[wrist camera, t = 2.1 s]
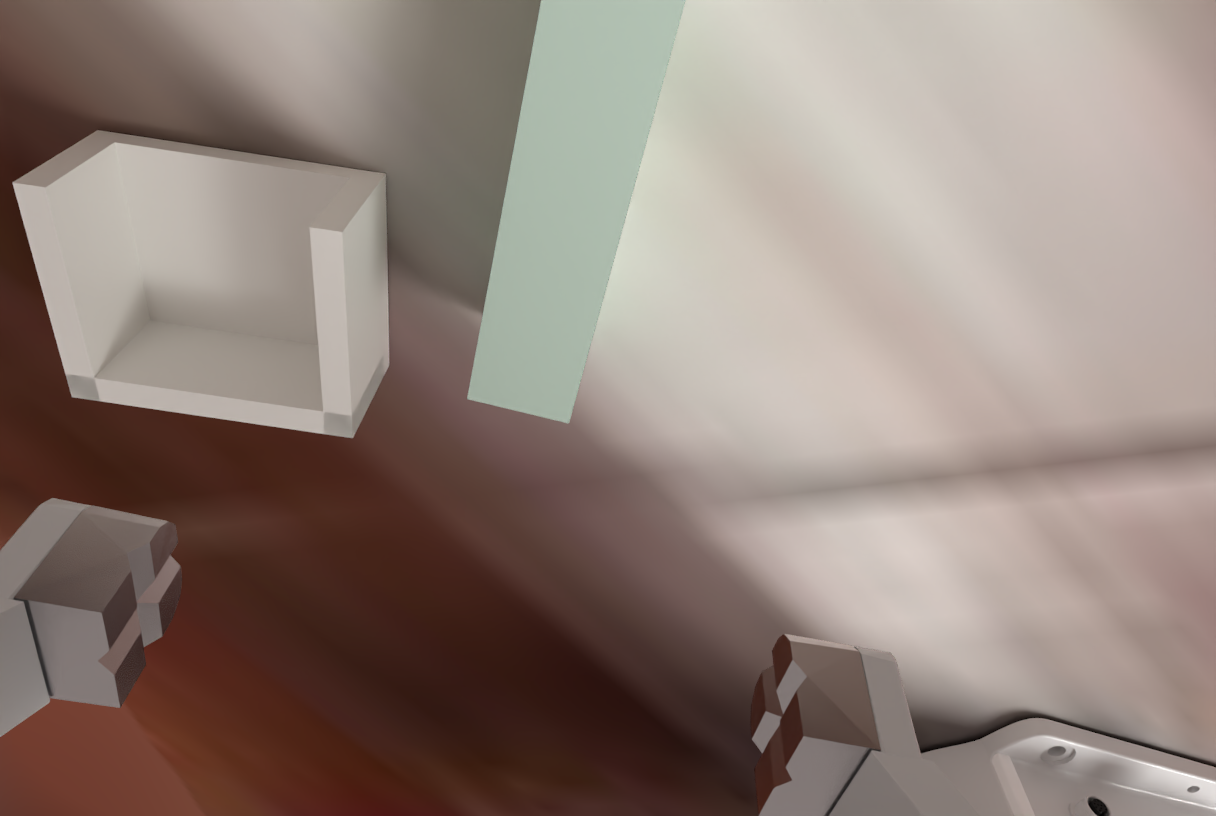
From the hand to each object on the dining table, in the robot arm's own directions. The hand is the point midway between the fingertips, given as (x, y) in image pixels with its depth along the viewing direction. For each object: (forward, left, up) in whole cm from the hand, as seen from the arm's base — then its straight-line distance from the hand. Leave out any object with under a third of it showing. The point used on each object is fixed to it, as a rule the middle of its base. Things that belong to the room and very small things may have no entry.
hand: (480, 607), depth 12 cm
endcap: (+12, +7, -21) cm, 25 cm away
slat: (0, -2, -22) cm, 21 cm away
